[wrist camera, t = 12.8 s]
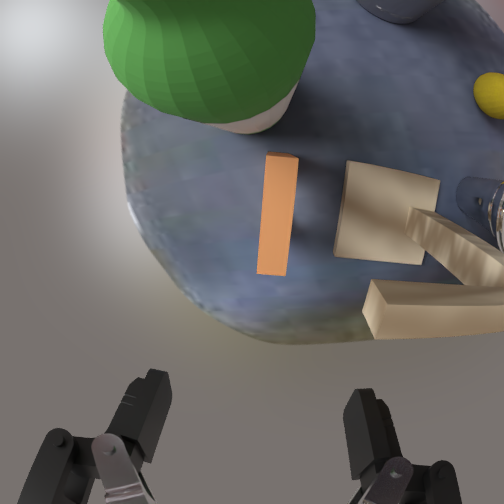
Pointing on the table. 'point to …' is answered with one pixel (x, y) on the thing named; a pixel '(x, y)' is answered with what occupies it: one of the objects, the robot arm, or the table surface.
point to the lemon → (490, 94)
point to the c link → (277, 212)
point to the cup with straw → (484, 204)
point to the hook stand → (417, 257)
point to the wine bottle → (211, 57)
